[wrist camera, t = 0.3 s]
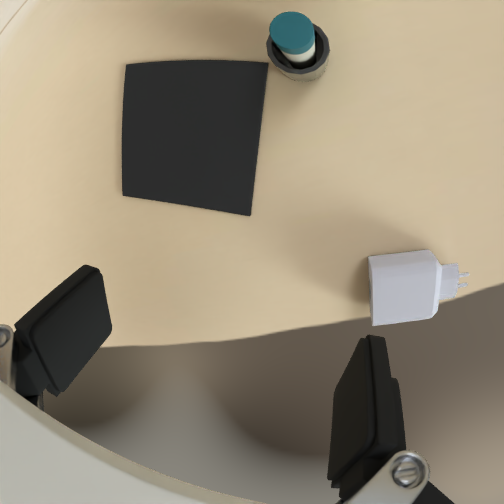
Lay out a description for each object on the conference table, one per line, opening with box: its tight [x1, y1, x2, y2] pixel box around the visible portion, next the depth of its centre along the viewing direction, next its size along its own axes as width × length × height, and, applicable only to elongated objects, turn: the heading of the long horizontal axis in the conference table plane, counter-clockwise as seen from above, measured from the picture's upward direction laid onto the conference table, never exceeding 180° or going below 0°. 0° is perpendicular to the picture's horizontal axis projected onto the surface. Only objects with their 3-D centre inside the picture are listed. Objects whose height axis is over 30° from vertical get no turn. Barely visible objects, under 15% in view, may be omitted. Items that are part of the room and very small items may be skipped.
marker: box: [269, 12, 316, 70], centre depth 23 cm, size 3×3×14 cm
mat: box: [122, 60, 268, 216], centre depth 37 cm, size 20×20×1 cm
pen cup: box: [266, 23, 330, 82], centre depth 26 cm, size 6×6×8 cm
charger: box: [368, 249, 469, 326], centre depth 36 cm, size 5×9×15 cm
